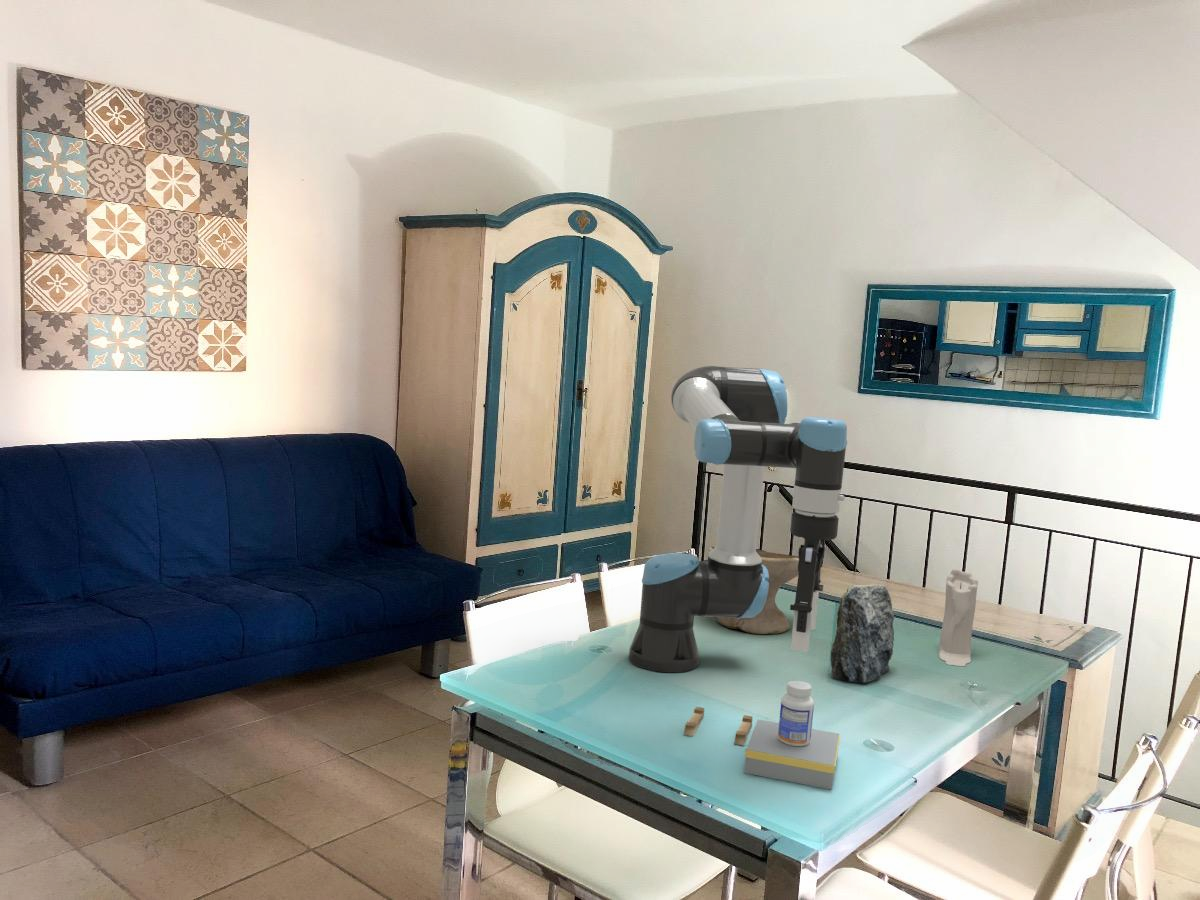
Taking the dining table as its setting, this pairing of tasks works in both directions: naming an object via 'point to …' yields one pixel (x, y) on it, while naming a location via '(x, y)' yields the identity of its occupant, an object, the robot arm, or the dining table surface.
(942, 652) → the candle
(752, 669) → the dining table surface
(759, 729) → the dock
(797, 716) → the pill bottle
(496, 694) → the dining table surface
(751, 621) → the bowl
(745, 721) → the wooden rail rack
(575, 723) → the dining table surface
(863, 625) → the stone block
